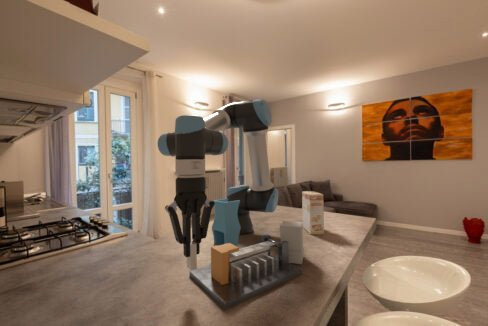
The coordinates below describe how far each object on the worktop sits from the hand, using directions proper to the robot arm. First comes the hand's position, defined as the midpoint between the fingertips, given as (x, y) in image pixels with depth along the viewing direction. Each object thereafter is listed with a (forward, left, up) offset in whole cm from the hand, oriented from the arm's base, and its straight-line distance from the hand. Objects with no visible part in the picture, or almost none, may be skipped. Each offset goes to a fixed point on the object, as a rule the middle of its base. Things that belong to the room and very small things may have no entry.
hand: (191, 267), depth 57 cm
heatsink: (0, +18, -7) cm, 19 cm away
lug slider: (0, +10, -5) cm, 11 cm away
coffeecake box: (-16, +74, -7) cm, 76 cm away
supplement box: (+1, +38, -7) cm, 38 cm away
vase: (-19, +23, -7) cm, 30 cm away
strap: (0, +20, -1) cm, 20 cm away
